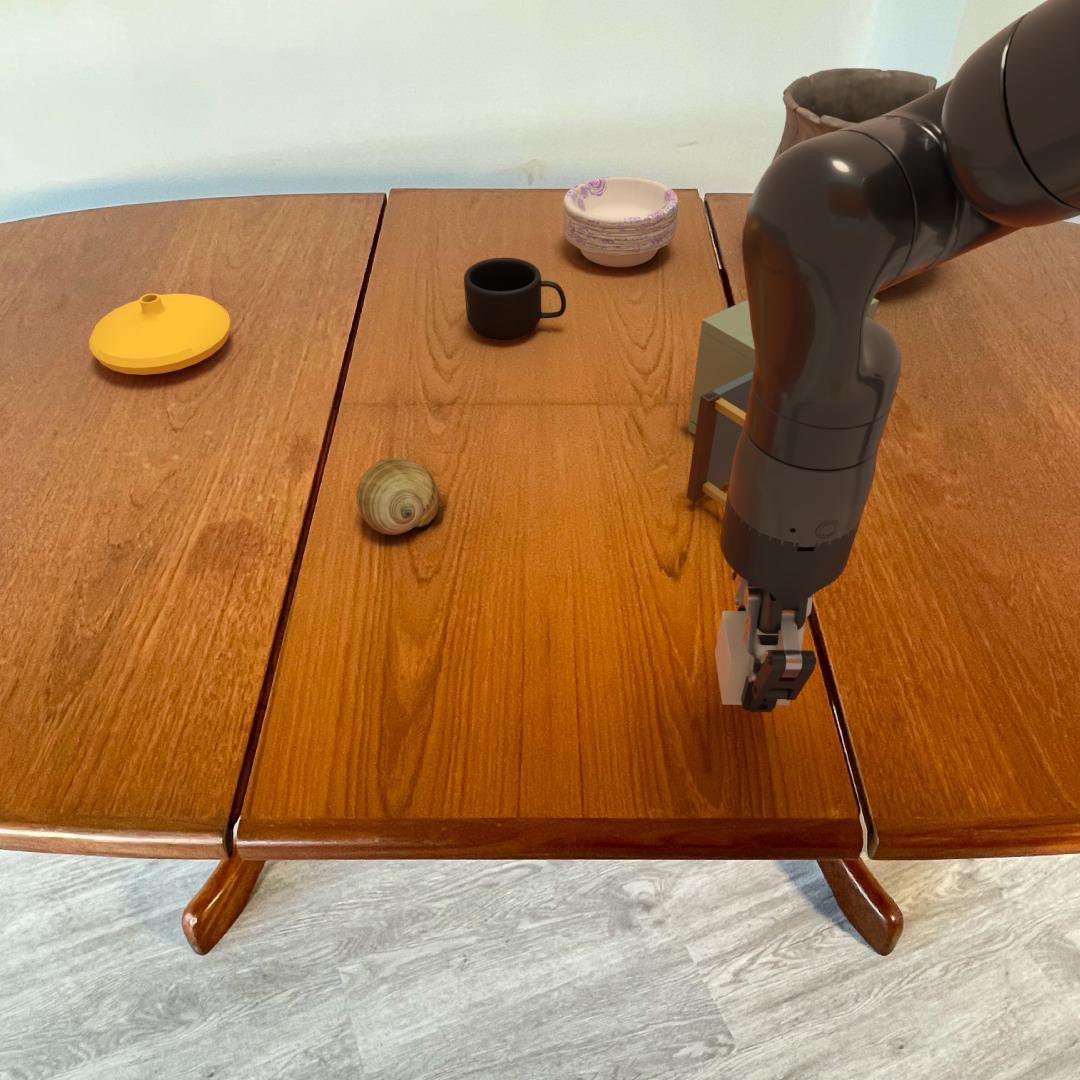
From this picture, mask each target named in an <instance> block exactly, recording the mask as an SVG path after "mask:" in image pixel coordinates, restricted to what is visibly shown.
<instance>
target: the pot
mask: <svg viewBox="0 0 1080 1080" xmlns="http://www.w3.org/2000/svg"><path fill="white" fill-rule="evenodd" d="M937 83H938V80H937V78H936V77H934V76H931V75H925V74H922V73H918V72H913V71H909V70H899V69H887V70H882V69H880V68H866V67H865V68H863V67H849V68H848V67H842V68H839V67H838V68H830V69H825V70H824V69H823V70H819V71H815V72H813V73H811V74H810V75H809V76H808V75H807V76H805V75H804V76H801V77H798V78H796V79H795V80H793V81H792V82H791V83H790V84H789V85H788V86H786V87H785V89H784V90H783V92H782V94H783V96H782V102H783V103H784V106H785V121H784V126H783V131H782V135H781V139H780V142H779V144H778V146H777V149H776V151H775V153H774V156H773V158H772V161H771V162H770V164H771V163H772V162H773V161H774V160H775V159H776V158H777V157H778V156H779V155H781V154H782V153H783V152H785V151H786V150H788V149H789V148H791V147H793V146H794V145H796V144H798V143H801V142H803V141H806V140H809V139H811V138H814V137H817V136H821V135H824V134H827V133H830V132H834V131H837V130H840V129H842V128H845V127H848V126H851V125H854V124H857V123H860V122H863V121H866V120H869V119H872V118H875V117H878V116H881V115H884V114H886V113H889V112H891V111H893V110H895V109H897V108H900V107H902V106H904V105H906V104H908V103H910V102H912V101H914V100H916V99H918V98H920V97H922V96H924V95H926V94H928V93H929V92H931V91H933V90H935V89H937V88H936V87H937Z"/></svg>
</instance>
